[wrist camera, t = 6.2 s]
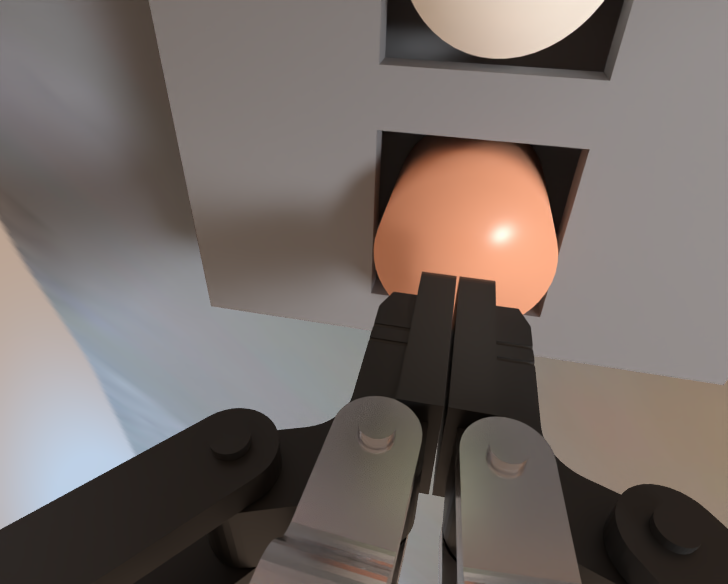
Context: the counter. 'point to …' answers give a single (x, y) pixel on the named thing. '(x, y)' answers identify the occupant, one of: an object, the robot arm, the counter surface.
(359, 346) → the counter surface
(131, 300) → the counter surface
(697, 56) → the button console
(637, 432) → the counter surface
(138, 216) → the counter surface
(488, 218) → the terracotta button
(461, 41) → the off-white button
